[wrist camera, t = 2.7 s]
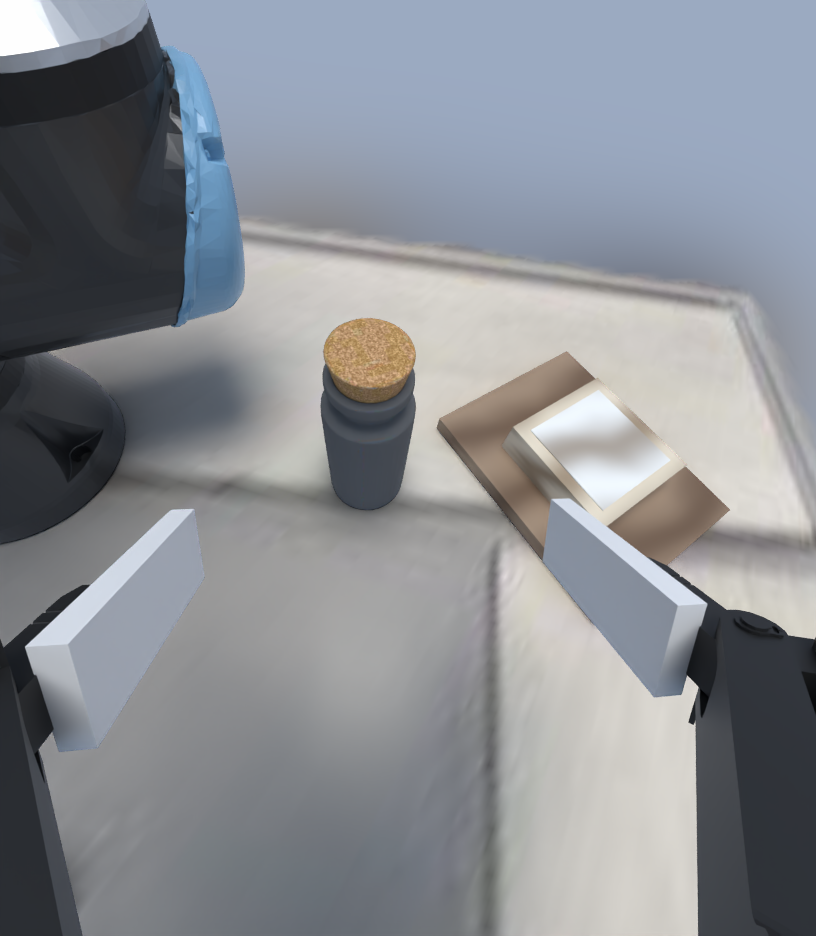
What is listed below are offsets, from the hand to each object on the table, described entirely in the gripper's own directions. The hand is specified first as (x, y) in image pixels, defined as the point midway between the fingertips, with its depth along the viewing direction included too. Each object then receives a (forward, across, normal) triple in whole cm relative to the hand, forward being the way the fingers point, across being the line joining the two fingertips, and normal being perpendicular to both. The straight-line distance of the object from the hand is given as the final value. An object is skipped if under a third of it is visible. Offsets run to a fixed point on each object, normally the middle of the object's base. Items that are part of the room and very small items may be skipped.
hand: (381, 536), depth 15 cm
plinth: (+19, +18, -4) cm, 26 cm away
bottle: (+19, 0, -4) cm, 19 cm away
